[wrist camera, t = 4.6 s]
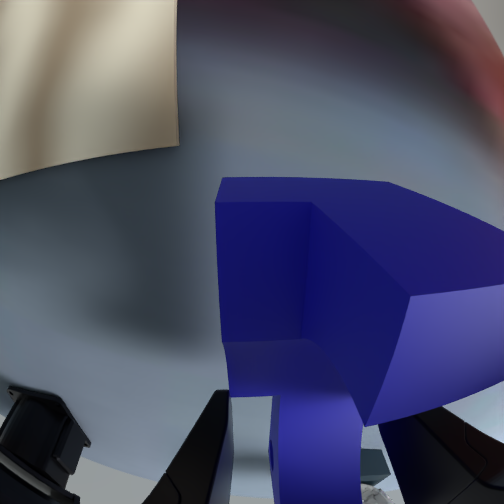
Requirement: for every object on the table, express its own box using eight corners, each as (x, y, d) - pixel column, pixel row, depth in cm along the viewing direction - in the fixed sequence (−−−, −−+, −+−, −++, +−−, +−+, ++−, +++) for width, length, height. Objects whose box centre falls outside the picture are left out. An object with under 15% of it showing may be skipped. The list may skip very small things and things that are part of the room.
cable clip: (222, 177, 7) (186, 306, 2) (388, 182, 8) (572, 271, 2) (236, 452, 12) (241, 564, 6) (329, 443, 12) (357, 547, 6)
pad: (-15, 184, 11) (-21, 186, 11) (-5, 2, 7) (-11, 0, 6) (179, 145, 12) (176, 145, 11) (181, -69, 7) (179, -75, 7)
